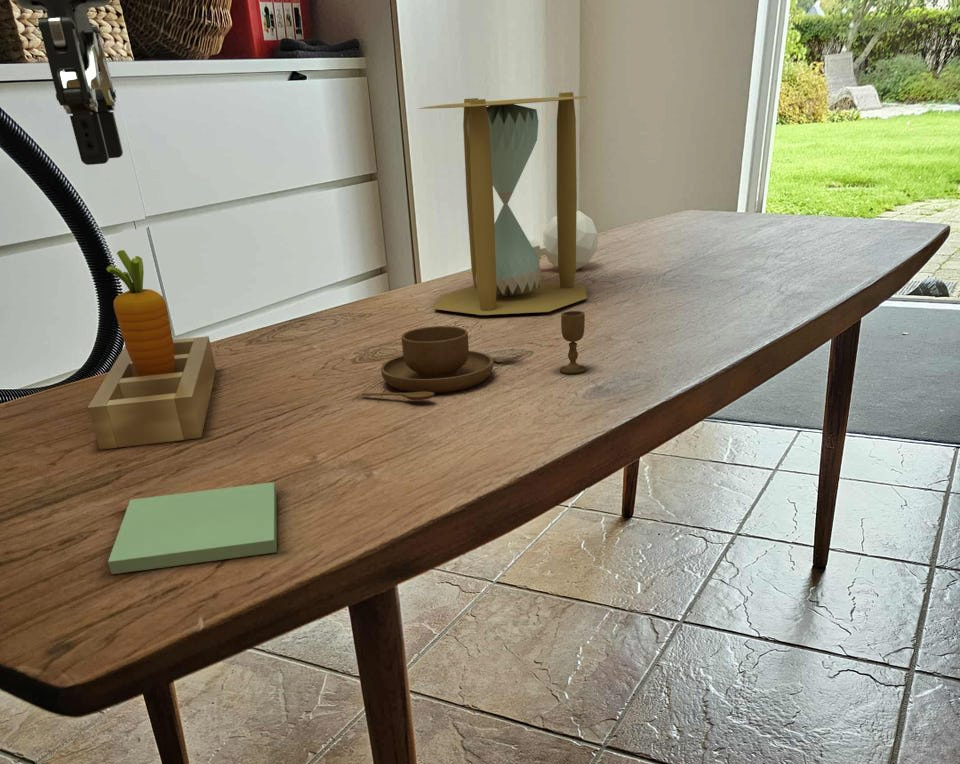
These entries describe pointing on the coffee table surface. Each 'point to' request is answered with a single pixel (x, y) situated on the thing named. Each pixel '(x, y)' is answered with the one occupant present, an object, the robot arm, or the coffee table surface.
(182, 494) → the mat
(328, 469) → the coffee table surface
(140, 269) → the carrot
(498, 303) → the hourglass
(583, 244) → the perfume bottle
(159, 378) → the rack
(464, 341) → the place setting
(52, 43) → the robot arm
